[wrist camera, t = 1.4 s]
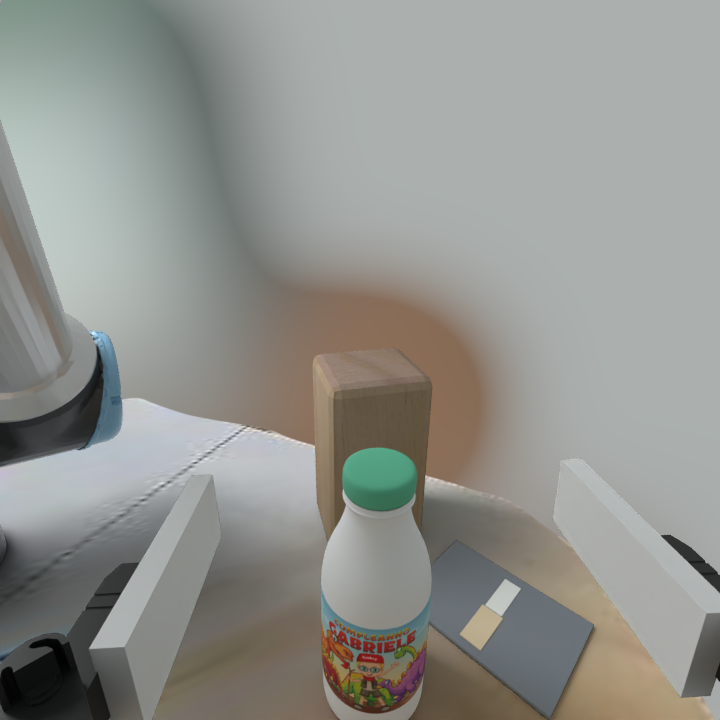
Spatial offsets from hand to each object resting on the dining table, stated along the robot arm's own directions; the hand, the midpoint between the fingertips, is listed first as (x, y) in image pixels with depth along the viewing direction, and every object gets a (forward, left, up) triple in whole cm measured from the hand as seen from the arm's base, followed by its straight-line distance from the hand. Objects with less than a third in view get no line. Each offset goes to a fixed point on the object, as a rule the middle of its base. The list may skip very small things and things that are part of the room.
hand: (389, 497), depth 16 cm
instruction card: (-2, +18, -25) cm, 31 cm away
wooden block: (-18, +18, -25) cm, 36 cm away
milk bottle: (-6, +6, -25) cm, 26 cm away
